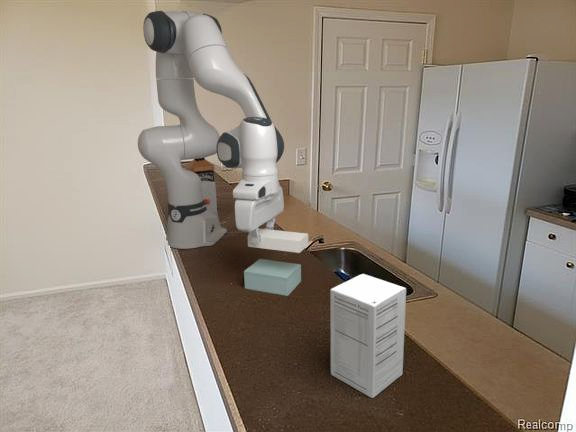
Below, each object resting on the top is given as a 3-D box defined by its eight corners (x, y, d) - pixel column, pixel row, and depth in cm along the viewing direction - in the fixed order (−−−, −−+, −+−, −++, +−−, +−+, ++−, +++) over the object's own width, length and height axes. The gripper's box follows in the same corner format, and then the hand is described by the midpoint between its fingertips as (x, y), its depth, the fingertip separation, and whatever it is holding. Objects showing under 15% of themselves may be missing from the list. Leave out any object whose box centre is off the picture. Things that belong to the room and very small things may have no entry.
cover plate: (258, 239, 114) (258, 228, 113) (308, 244, 108) (308, 233, 108) (248, 246, 108) (247, 235, 108) (299, 252, 103) (299, 241, 102)
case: (260, 274, 119) (259, 258, 117) (301, 281, 114) (300, 264, 113) (244, 288, 111) (243, 271, 109) (287, 295, 106) (287, 278, 105)
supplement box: (404, 374, 76) (409, 287, 71) (372, 400, 70) (376, 307, 65) (360, 352, 83) (362, 271, 78) (328, 374, 77) (328, 287, 72)
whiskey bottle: (195, 214, 179) (188, 136, 170) (189, 209, 188) (182, 134, 179) (219, 210, 184) (213, 135, 175) (211, 205, 192) (206, 133, 183)
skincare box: (206, 218, 174) (203, 180, 169) (219, 220, 170) (216, 181, 166) (192, 223, 167) (188, 184, 162) (205, 226, 163) (201, 185, 159)
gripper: (267, 176, 116) (269, 225, 120) (228, 192, 98) (232, 249, 102) (289, 177, 114) (290, 227, 118) (253, 194, 96) (256, 252, 99)
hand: (263, 238), depth 110 cm, fingers closed on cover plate, 6 cm apart
